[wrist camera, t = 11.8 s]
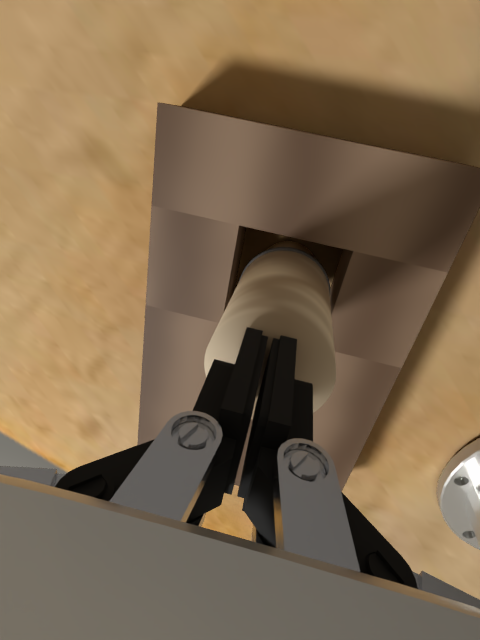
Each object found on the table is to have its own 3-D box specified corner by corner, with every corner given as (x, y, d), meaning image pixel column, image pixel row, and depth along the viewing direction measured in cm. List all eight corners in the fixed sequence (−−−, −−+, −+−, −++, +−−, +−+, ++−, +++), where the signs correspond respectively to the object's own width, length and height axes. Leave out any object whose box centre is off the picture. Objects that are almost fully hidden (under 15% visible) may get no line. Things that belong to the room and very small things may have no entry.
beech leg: (338, 241, 20) (357, 332, 11) (315, 314, 22) (315, 437, 13) (257, 223, 20) (212, 296, 11) (242, 296, 22) (195, 405, 14)
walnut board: (469, 165, 17) (497, 171, 15) (330, 475, 28) (331, 511, 25) (180, 105, 18) (157, 102, 16) (152, 427, 29) (136, 457, 26)
